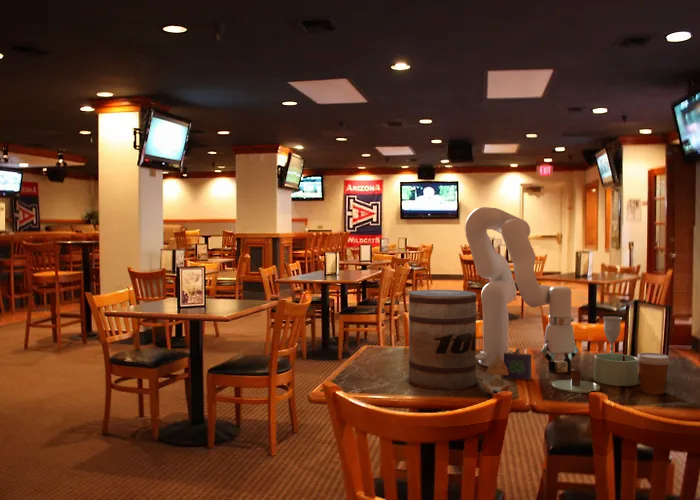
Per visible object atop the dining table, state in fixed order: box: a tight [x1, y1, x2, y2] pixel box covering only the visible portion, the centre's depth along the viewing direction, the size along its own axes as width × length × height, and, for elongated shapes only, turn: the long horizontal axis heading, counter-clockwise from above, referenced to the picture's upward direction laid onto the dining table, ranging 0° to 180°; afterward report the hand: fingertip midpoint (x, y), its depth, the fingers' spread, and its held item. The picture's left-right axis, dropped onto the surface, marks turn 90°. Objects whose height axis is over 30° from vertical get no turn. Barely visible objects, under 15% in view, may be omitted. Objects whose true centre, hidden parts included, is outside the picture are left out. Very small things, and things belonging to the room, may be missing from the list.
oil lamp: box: [482, 356, 512, 397], centre depth 199 cm, size 9×21×10 cm, turn 165°
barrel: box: [408, 289, 477, 390], centre depth 215 cm, size 22×22×30 cm
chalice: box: [602, 315, 623, 354], centre depth 241 cm, size 7×7×18 cm
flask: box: [503, 348, 532, 380], centre depth 218 cm, size 9×3×11 cm, turn 74°
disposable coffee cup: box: [636, 352, 671, 395], centre depth 200 cm, size 10×10×12 cm
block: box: [554, 359, 569, 373], centre depth 229 cm, size 4×4×4 cm
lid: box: [551, 368, 601, 394], centre depth 206 cm, size 15×15×6 cm
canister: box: [593, 352, 640, 387], centre depth 214 cm, size 14×14×8 cm
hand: (559, 371), depth 229 cm, fingers open, 5 cm apart
